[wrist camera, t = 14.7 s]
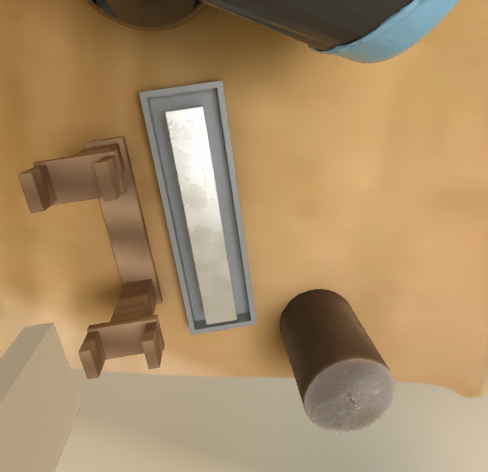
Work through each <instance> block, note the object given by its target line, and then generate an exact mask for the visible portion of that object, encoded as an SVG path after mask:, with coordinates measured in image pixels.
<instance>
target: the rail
mask: <svg viewBox="0 0 488 472" xmlns="http://www.w3.org/2000/svg"><path fill="white" fill-rule="evenodd" d="M165 113H166V118H167V123H168V128H169V133H170V139H171V144H172V149H173V154H174V159H175V164H176V169H177V174H178V180H179V185H180V190H181V195H182V200H183V205H184V210H185V215H186V221H187V226H188V231H189V236H190V241H191V246H192V251H193V256H194V262H195V267H196V272H197V277H198V282H199V287H200V292H201V298H202V303H203V308H204V313H205V318H206V323H207V325H208V324H214V323H220V322H226V321H233V320H237V315H236V307H235V300H234V294H233V288H232V282H231V275H230V269H229V263H228V257H227V251H226V244H225V238H224V232H223V226H222V220H221V213H220V207H219V201H218V195H217V189H216V182H215V176H214V170H213V164H212V158H211V151H210V145H209V139H208V133H207V127H206V120H205V114H204V108H203V106H196V107H189V108H182V109H175V110H169V111H167V112H165Z"/></svg>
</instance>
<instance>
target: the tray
mask: <svg viewBox="0 0 488 472" xmlns="http://www.w3.org/2000/svg"><path fill="white" fill-rule="evenodd" d="M139 95H140V100H141V105H142V109H143V114H144V119H145V123H146V128H147V133H148V137H149V142H150V147H151V151H152V156H153V161H154V165H155V170H156V175H157V179H158V184H159V189H160V193H161V198H162V203H163V207H164V212H165V217H166V221H167V226H168V231H169V235H170V240H171V245H172V249H173V254H174V259H175V263H176V268H177V273H178V277H179V282H180V287H181V291H182V296H183V301H184V305H185V310H186V315H187V319H188V324H189V329H190V333H191V335H193V334H199V333H206V332H212V331H218V330H224V329H230V328H236V327H242V326H248V325H254V324H257V322H256V315H255V308H254V301H253V294H252V287H251V280H250V272H249V265H248V258H247V251H246V244H245V237H244V230H243V223H242V216H241V209H240V202H239V195H238V188H237V181H236V174H235V167H234V159H233V152H232V145H231V138H230V131H229V124H228V117H227V110H226V103H225V96H224V89H223V82H222V81H215V82H208V83H201V84H194V85H187V86H179V87H172V88H165V89H158V90H151V91H144V92H139ZM196 106H203V108H204V114H205V120H206V127H207V133H208V139H209V145H210V151H211V158H212V164H213V170H214V176H215V182H216V189H217V195H218V201H219V207H220V213H221V220H222V226H223V232H224V238H225V244H226V251H227V257H228V263H229V269H230V275H231V282H232V288H233V294H234V300H235V307H236V315H237V320H233V321H226V322H220V323H214V324H208V325H207V323H206V318H205V313H204V308H203V303H202V298H201V292H200V287H199V282H198V277H197V272H196V267H195V262H194V256H193V251H192V246H191V241H190V236H189V231H188V226H187V221H186V215H185V210H184V205H183V200H182V195H181V190H180V185H179V180H178V174H177V169H176V164H175V159H174V154H173V149H172V144H171V139H170V133H169V128H168V123H167V118H166V113H165V112H167V111H169V110H175V109H182V108H189V107H196Z"/></svg>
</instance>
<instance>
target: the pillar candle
mask: <svg viewBox="0 0 488 472" xmlns="http://www.w3.org/2000/svg"><path fill="white" fill-rule="evenodd" d="M280 327H281V333H282V336H283V340H284V343H285V346H286V350H287V353H288V356H289V360H290V363H291V366H292V369H293V373H294V376H295V379H296V382H297V386H298V389H299V393H300V395H301V399H302V402H303V405H304V409H305V411H306V414H307V415H308V417H309V418H310V420H311V421H312V422H313V423H315V424H316V425H317V426H318V427H320V428H322V429H325V430H328V431H330V432H331V433H336V432H338V433H346V432H351V431H354V430H361V429H363V428H364V427H367V426H370V425H371V424H373V423H374V422H376V421H377V420H378V419H380V418H381V417H382V416H383V415H384V414H385V413H386V412H387V411H388V410H389V408H390V407H391V405H392V404H393V403H394V402H395V400H396V395H395V393H396V383H395V379H394V376H393V375H392V373H391V371H390V370H389V368H388V367H387V365H386V363H385V362H384V360H383V359H382V357H381V355H380V354H379V352H378V350H377V349H376V347H375V346H374V344H373V342H372V341H371V339H370V338H369V336H368V334H367V333H366V331H365V329H364V328H363V326H362V325H361V323H360V321H359V320H358V318H357V317H356V315H355V313H354V312H353V310H352V308H351V307H350V305H349V303H348V302H347V301H346V300H345V299H344V298H343V297H341V296H339V295H338V294H336V293H334V292H331V291H328V290H314V291H313V290H312V291H308V292H305V293H303V294H301V295H299V296H297V297H296V298H294V299H293V300H291V302H290V303H289V304H288V306H287V307H286V309H285V310H284V311H283V313H282V316H281V321H280Z"/></svg>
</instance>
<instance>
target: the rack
mask: <svg viewBox="0 0 488 472" xmlns="http://www.w3.org/2000/svg"><path fill="white" fill-rule="evenodd" d="M84 146H85V149H86V150H83V151H81V152H79V153H77V154H75V155H73V156H71V157H66V158H59V159H52V160H46V161H39V162H35V163H33V165H34V167H33V168H31V169H29V170H27V171H24V172H22V173H20V174H18V177H19V180H20V183H21V186H22V189H23V192H24V195H25V198H26V201H27V204H28V207H29V209H30V212H31V213H34V212H41V211H45V210H46V209H47V208H49V207H50V206H51V205H56V204H63V203H70V202H76V201H83V200H90V199H96V198H99V201H100V204H101V208H102V212H103V215H104V219H105V223H106V226H107V230H108V234H109V237H110V241H111V244H112V248H113V252H114V255H115V259H116V263H117V266H118V270H119V274H120V277H121V281H122V285H123V288H124V290H123V292H122V294H121V297H120V299H119V302H118V304H117V306H116V309H115V311H114V314H113V316H112V318H111V321H110V322H107V323H101V324H95V325H89V327H88V329H87V332H88V334H87V336H86V338H85V340H84V342H83V344H82V346H81V348H80V350H79V352H78V353H79V356H80V359H81V362H82V365H83V367H84V370H85V373H86V376H87V379H93V378H98V377H99V375H100V372H101V370H102V367H103V364H104V362H105V359H111V358H117V357H124V356H130V355H136V354H142V353H145V357H146V360H147V364H148V368H149V369H153V368H159V367H160V363H161V357H162V351H163V350H164V341H163V337H162V332H161V328H160V324H159V320H158V316H157V315H154V310H155V306H156V304H162V300H163V299H162V295H161V291H160V286H159V282H158V278H157V274H156V269H155V265H154V261H153V257H152V252H151V248H150V244H149V240H148V235H147V231H146V227H145V223H144V218H143V214H142V210H141V206H140V202H139V197H138V193H137V189H136V185H135V180H134V176H133V172H132V168H131V163H130V159H129V155H128V151H127V146H126V142H125V138H124V137H117V138H110V139H104V140H97V141H90V142H85V143H84Z"/></svg>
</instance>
